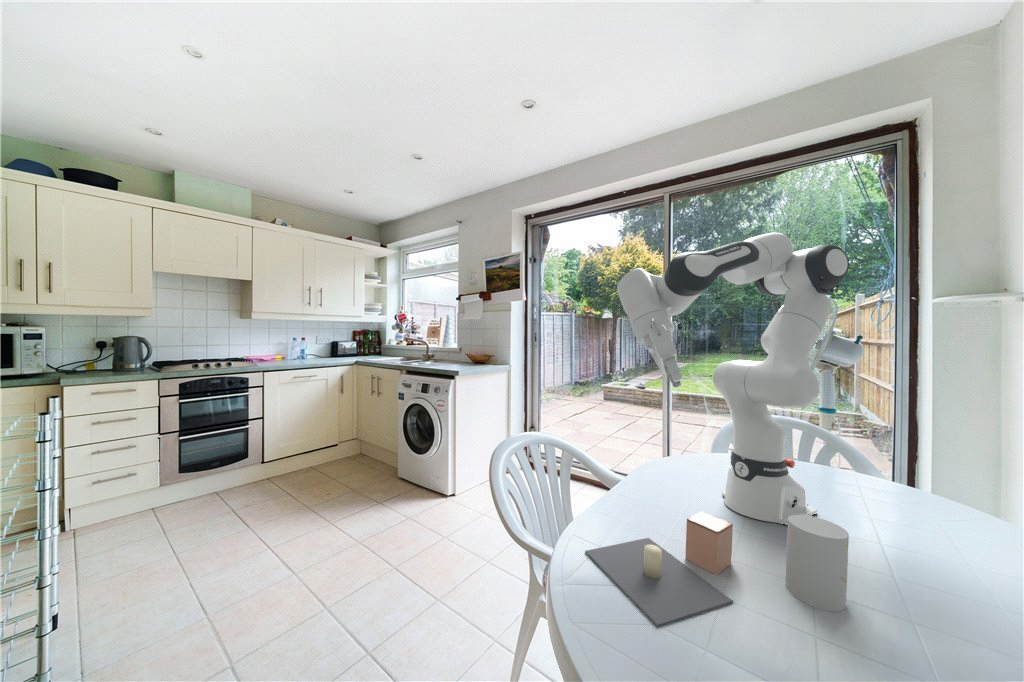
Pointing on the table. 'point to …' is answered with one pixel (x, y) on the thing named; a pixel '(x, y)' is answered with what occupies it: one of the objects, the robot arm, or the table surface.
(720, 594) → the mat
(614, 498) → the table surface
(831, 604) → the white oval cylinder
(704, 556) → the light orange rectangular block
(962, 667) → the table surface
